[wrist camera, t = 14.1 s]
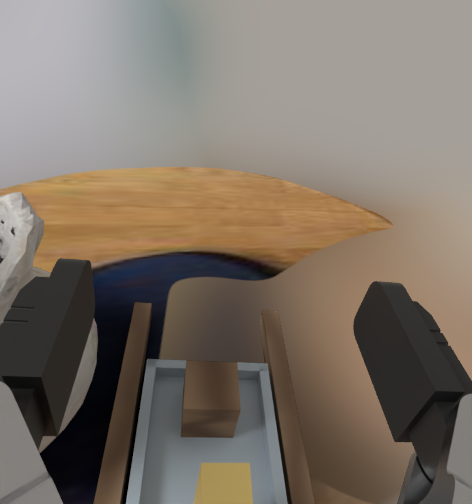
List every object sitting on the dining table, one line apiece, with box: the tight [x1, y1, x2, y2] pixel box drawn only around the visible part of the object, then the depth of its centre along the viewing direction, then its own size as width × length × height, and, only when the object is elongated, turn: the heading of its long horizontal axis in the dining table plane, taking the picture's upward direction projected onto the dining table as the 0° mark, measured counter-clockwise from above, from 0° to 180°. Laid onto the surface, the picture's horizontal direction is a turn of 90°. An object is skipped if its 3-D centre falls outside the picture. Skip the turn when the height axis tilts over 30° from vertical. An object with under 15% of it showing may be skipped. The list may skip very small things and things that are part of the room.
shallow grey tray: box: [126, 359, 288, 504], centre depth 32 cm, size 13×18×13 cm
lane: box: [94, 302, 315, 504], centre depth 40 cm, size 18×24×2 cm
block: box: [181, 360, 241, 438], centre depth 37 cm, size 5×5×5 cm
